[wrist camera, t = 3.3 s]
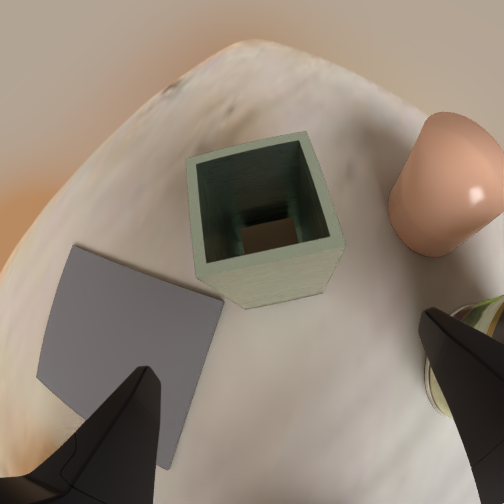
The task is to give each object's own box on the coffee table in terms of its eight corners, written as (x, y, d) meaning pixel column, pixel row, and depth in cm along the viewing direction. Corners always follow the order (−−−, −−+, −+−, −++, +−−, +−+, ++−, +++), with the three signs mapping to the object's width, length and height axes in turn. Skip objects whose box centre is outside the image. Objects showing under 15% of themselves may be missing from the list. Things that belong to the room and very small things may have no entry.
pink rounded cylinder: (460, 190, 21) (504, 136, 13) (460, 267, 19) (521, 228, 11) (391, 166, 23) (418, 98, 15) (382, 243, 21) (423, 187, 13)
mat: (224, 302, 22) (222, 301, 21) (169, 468, 18) (167, 470, 17) (75, 246, 26) (72, 245, 26) (39, 377, 22) (36, 377, 22)
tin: (322, 293, 21) (345, 245, 10) (245, 309, 21) (195, 277, 11) (304, 222, 23) (306, 130, 12) (233, 237, 23) (185, 159, 13)
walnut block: (303, 280, 21) (304, 268, 17) (256, 290, 21) (248, 280, 18) (293, 236, 22) (292, 217, 19) (248, 246, 22) (239, 228, 19)
